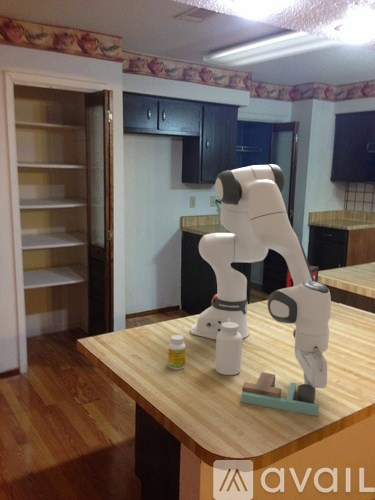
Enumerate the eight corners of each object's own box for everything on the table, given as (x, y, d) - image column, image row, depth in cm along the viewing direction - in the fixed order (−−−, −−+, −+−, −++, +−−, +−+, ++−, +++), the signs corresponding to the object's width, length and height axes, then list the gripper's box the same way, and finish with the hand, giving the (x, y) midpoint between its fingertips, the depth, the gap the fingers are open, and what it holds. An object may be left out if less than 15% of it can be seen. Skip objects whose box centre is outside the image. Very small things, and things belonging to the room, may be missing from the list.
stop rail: (240, 401, 118) (241, 393, 118) (249, 383, 129) (249, 375, 129) (318, 416, 112) (318, 407, 111) (320, 395, 123) (320, 387, 122)
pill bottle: (233, 378, 132) (235, 330, 129) (210, 371, 136) (211, 325, 134) (245, 368, 139) (246, 323, 136) (222, 362, 143) (223, 318, 140)
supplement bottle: (172, 371, 136) (173, 341, 135) (165, 364, 141) (165, 335, 139) (188, 367, 139) (188, 338, 137) (180, 361, 143) (180, 333, 142)
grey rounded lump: (297, 402, 118) (297, 390, 118) (297, 394, 123) (298, 383, 122) (314, 405, 117) (315, 393, 116) (314, 397, 121) (315, 385, 121)
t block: (242, 399, 120) (242, 386, 119) (251, 381, 130) (251, 370, 130) (278, 406, 117) (279, 393, 116) (285, 388, 127) (285, 376, 126)
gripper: (335, 356, 110) (331, 407, 113) (313, 328, 131) (310, 371, 133) (310, 355, 111) (306, 406, 113) (291, 327, 131) (289, 371, 133)
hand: (308, 387), depth 123 cm, fingers closed
